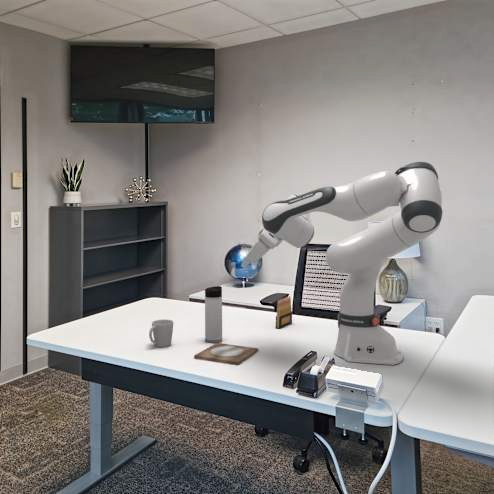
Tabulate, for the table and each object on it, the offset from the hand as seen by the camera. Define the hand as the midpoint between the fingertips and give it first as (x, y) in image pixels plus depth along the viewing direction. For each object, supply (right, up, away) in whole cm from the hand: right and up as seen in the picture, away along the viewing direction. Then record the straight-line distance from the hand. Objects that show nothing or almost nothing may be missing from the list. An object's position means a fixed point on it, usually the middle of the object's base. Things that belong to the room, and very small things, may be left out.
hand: (244, 263), depth 171 cm
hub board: (-6, -31, -6) cm, 32 cm away
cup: (-30, -30, +4) cm, 43 cm away
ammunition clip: (+16, -27, +33) cm, 45 cm away
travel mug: (-11, -29, +11) cm, 33 cm away
